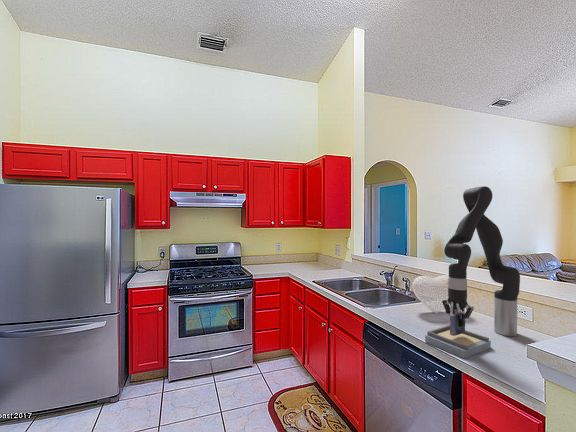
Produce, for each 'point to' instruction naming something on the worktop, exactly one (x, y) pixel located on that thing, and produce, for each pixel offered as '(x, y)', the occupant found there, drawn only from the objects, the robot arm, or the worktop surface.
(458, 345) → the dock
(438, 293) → the heart
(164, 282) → the worktop surface
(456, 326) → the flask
